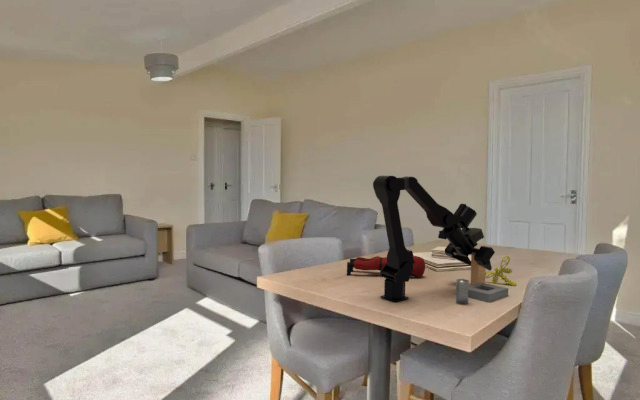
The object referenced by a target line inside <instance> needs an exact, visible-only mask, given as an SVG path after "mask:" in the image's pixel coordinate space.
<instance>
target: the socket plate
mask: <svg viewBox="0 0 640 400" xmlns="http://www.w3.org/2000/svg"><path fill="white" fill-rule="evenodd" d="M508 296H509V287H503V286H501V285H500V286H499V285H495V284H490V283H486V282H485V283H481V282H480V283H476V284H473V285H471V284H469V289H468V299H473V300H478V301H482V302H485V303H490V302H491V303H492V302H494V301H496V300H500V299H504V298H506V297H508Z"/></svg>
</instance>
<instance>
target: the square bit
mask: <svg viewBox="0 0 640 400" xmlns="http://www.w3.org/2000/svg"><path fill="white" fill-rule="evenodd" d="M470 256H471V257H470V261H471V266H470V285H473V284H476V283H480V282H481V283H486V278H485V277H486V276H485V272H486V268H484V267H482V266H480V265H478V264H477V262H475V260H474V255H472V254H470Z"/></svg>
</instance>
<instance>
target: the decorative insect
mask: <svg viewBox="0 0 640 400" xmlns="http://www.w3.org/2000/svg"><path fill="white" fill-rule="evenodd" d="M510 259H511V258H510V256H509V255H505V256H504V257H503V258H502V259H501V261H500V263H499V264H500V266H499V268H498V267H496V266H495V268H494V269H493V270H494V271H489V270H488V271H485V279H489V278H492V280H491V281H492V283H493V284H494V285H495V284H497V283H498V281H499V278H500V279H501V280H502V281H504V283H507V284H508V285H510V286H512V287H516V285H517V282H515V281H512V280H510V279H509V278H508V277H507V275H508V274H512V273H513V270H512V268H510V267H508V268H507V266H508V265H509V263H510ZM504 265H505V266H504ZM505 274H507V275H505Z"/></svg>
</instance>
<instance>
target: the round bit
mask: <svg viewBox="0 0 640 400" xmlns="http://www.w3.org/2000/svg"><path fill="white" fill-rule="evenodd" d="M455 283H456V284H455V285H456V287H455V303H456V304H458V305H465V306H466V305H468V304H469V297H468V289H469V285H470V284H469V283H470V282H469V280H468V279H466V278H465V279H464V278H458V279H456V282H455Z"/></svg>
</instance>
